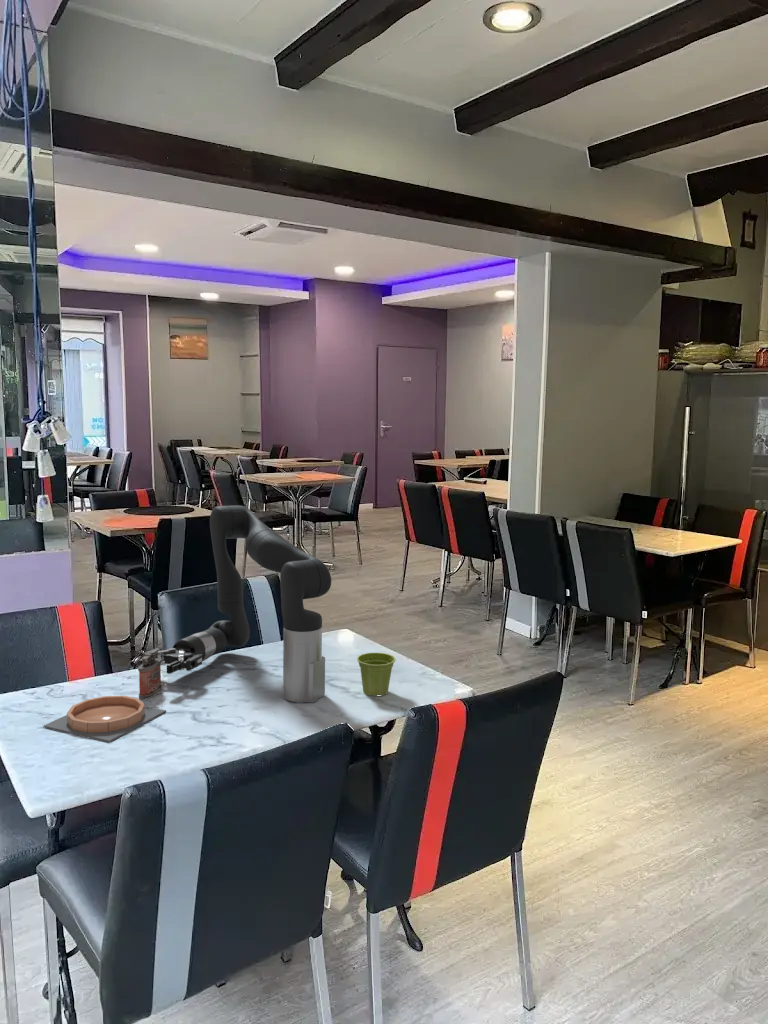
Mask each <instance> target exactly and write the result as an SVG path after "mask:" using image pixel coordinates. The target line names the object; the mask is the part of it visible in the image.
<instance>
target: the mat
mask: <svg viewBox="0 0 768 1024" xmlns="http://www.w3.org/2000/svg"><path fill="white" fill-rule="evenodd" d="M165 713H167V710H165V709H161V708H156V707H151V706H146V705H145V714H144V716H143V718H142V720H141V721H139V722H137V723H135V724H134V725H132V726H130V727H128V728H123V729H119V730H115V731H110V732H92V733H87V732H83V731H78V730H74V729H72V728H71V727H70V726H69V725H68V723H67V714H65V715H63V716H62V717H60V718H57V719H55V720H53V721H51V722H48V723H46V724H44V725H43V728H44V727H45V728H44V729H48V728H50V729H49V730H52V729H54V730H53V731H57V730H58V731H57V732H61V731H62V732H61V733H65V732H66V733H67V734H70V733H71V734H72V735H75V736H80V737H84V738H87V737H89V738H88V739H92V738H93V739H92V740H96V739H97V740H98V741H102V742H105V741H106V742H105V743H109V742H110V743H112V742H113V741H115V740H118V739H119V738H121V737H123V736H124V735H127V734H128V733H130V732H133V731H134V730H135V729H138V728H140V727H141V726H143V725H145V724H147V723H149V722H151V721H153V720H154V719H156V718H158V717H160V716H162V715H164V714H165ZM71 734H70V735H71ZM111 741H112V742H111Z"/></svg>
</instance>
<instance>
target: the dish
mask: <svg viewBox="0 0 768 1024" xmlns="http://www.w3.org/2000/svg"><path fill="white" fill-rule="evenodd" d="M145 706H146V705H145V703H144V702H143V701H142V700H141V699H139V697H138V698H137V697H132V696H127V695H104V696H99V697H94V698H89V699H85V700H82V701H80V702H78V703H76V704H74V705H72V706H71V707H70V708H69V709H68V711H67V712H66V715H67V723H68V725H69V726H70V727H71V728H72V729H74V730H78V731H83V732H87V733H92V732H110V731H115V730H119V729H123V728H128V727H130V726H132V725H134V724H135V723H137V722H139V721H141V720H142V718H143V716H144V714H145Z"/></svg>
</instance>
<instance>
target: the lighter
mask: <svg viewBox="0 0 768 1024" xmlns="http://www.w3.org/2000/svg"><path fill="white" fill-rule="evenodd" d="M156 656H158V651H157V650H154V651H152V652H150V653H146V654H145V656H144V655H143V656H142V658H141V659H142V662H143V664H141V665H140V666H139V665H138V668H137V669H138V682H139V694H138V699H139V700H149V699H151V698H152V697H155V696H156V695H158V694H159V693H160V692H161V691H162V690H163V689H162V688H163V687H162V686H163V685H162V681H161V680H162V679H161V677H162V675H161V674H162V673H161V671H162V670H161V669H162V667H161V666H162V665H160V664H161V662H162V658H161V659H159V658H155V657H156Z"/></svg>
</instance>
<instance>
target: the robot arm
mask: <svg viewBox="0 0 768 1024" xmlns="http://www.w3.org/2000/svg"><path fill="white" fill-rule="evenodd" d="M209 528H210V529H209V530H210V537H211V538H210V539H211V545H212V552H213V557H214V563H215V571H216V581H217V609H218V611H219V612H220V613H222V614H225V615H227V616H228V617H229V619H230V620H226V619H224V620H221V619H220V620H217V621H215V622H214V623H212V625H211V626H210V627H208V628H207V629H205V630H203V631H200V632H196V633H193V634H191V635H189V636H186V637H184V638H183V637H182V638H181V639H179V640H177V641H176V642H174V644H173V646H172V647H170V648H168V649H163V647H161V646H158V647H156V648H153V649H151V650H148V651H145V652H143V657H144V656H145V654H146V653H150V652H152V651H154V650H157V651H158V656H156V657H155V658H159V659H161V660H162V658H163V661H161V664H160V665H161V666H166V674H169V675H171V674H174V673H175V672H177V671H184V670H186V671H188V672H189V671H192V670H193V669H195V668H197V667H199V666H201V665H203V662H204V661H207V660H208V659H210V658H211V657H213V656H215V655H217V654H219V653H221V652H222V651H223V650H224V649H225V647H226V646H227V647H234V648H242V647H244V646H245V645H246V644H247V643H248V641H249V640H250V635H251V631H250V625H249V621H248V617H247V614H246V611H245V607H244V583H243V579H242V576H241V575H240V572H239V571H238V569H237V568H236V566H235V564H234V563H233V561H232V559H231V557H230V555H229V551H228V549H227V540H230V539H246V540H245V549H246V552H247V553H246V554H248V555H249V557H250V558H251V559H252V560H253V561H254V562H256V564H258V565H259V566H260V567H262V568H264V569H265V570H268V571H272V572H275V573H279V574H280V577H279V581H280V582H279V583H280V584H279V585H280V587H279V588H280V605H281V607H280V608H281V616H282V621H283V622H282V623H283V628H282V629H283V631H282V633H283V634H282V637H283V638H282V640H283V643H282V646H283V647H282V649H283V651H282V655H283V657H282V658H283V659H282V662H283V663H282V664H283V665H282V670H283V671H282V673H283V674H282V677H283V678H282V680H283V681H282V683H283V684H282V688H283V689H282V693H283V694H282V695H283V699H285V700H286V701H289V702H292V703H293V702H294V703H315V702H316V701H319V699H321V698H323V696H325V695H326V657H325V656H323V618H322V617H323V616H322V615H321V614H320V613H319V612H317V611H313V610H309V609H305V607H304V600H309V599H314V598H320V597H322V596H324V595H326V594H327V593H328V592H329V590H330V589H331V586H332V576H331V573H330V571H329V568H328V566H327V565H326V564H325V563H324V562H323V561H322V560H321V559H319V558H317V557H315V556H313V555H311V554H310V553H307V552H304V551H303V550H302V549H300V548H298V547H297V546H296V545H294V544H293V543H291V542H289V541H288V540H286V539H285V538H284V537H283V536H282V535H280V534H279V533H278V532H276V531H275V530H273V529H271V527H269V525H266V524H265V523H264V522H262V521H261V520H260V519H259V518H258V517H257V515H256V514H255V513H254V512H253V511H252V510H251V509H249V507H247V506H244V505H237V504H236V505H218V506H214V507H213V509H212V510H211V512H210V517H209ZM137 663H138V667H139V666H140V665H141V664H143V662H142V658H141V659H140V658H139V660H138V662H137Z"/></svg>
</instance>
